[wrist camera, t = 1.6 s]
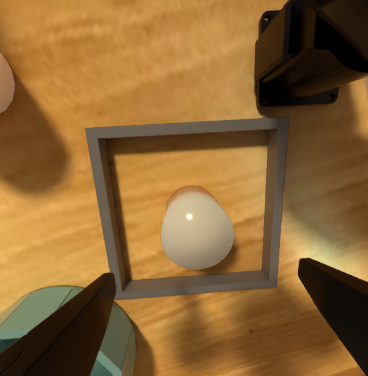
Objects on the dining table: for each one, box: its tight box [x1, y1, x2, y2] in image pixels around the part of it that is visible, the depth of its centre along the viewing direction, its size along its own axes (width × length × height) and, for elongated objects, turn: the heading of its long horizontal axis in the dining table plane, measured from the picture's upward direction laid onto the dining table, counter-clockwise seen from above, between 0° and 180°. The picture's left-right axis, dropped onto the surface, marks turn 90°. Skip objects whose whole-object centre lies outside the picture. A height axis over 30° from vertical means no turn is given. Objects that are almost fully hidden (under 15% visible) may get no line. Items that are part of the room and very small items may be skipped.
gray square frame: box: [85, 117, 289, 300], centre depth 16 cm, size 16×16×2 cm
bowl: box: [0, 285, 136, 376], centre depth 18 cm, size 14×14×4 cm
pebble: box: [161, 186, 234, 270], centre depth 15 cm, size 5×5×5 cm
